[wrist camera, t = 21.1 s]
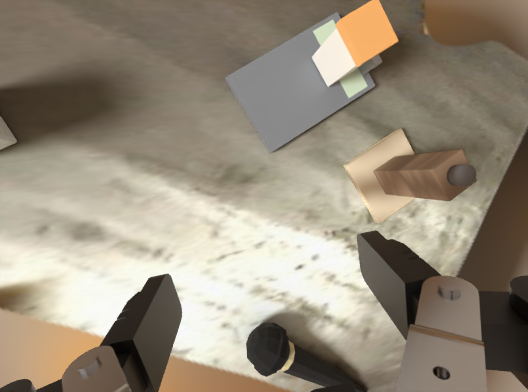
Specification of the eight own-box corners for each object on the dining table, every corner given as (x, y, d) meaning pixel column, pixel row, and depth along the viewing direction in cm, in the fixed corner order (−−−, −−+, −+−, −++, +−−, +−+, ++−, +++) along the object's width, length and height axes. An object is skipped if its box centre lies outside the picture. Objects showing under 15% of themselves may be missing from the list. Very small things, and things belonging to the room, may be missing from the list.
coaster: (343, 165, 36) (347, 165, 35) (396, 129, 37) (401, 128, 36) (375, 222, 38) (379, 223, 37) (425, 186, 39) (431, 186, 38)
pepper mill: (372, 171, 36) (443, 169, 25) (394, 156, 37) (473, 148, 26) (385, 194, 37) (460, 202, 26) (406, 179, 37) (489, 180, 26)
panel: (225, 80, 33) (227, 67, 29) (333, 16, 35) (349, -4, 31) (269, 153, 34) (277, 150, 30) (371, 88, 36) (390, 77, 32)
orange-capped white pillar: (309, 56, 33) (339, 19, 25) (338, 38, 34) (377, -3, 26) (327, 89, 34) (362, 63, 26) (355, 71, 34) (398, 40, 27)
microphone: (356, 363, 42) (251, 310, 36) (387, 381, 37) (272, 323, 31) (344, 402, 41) (231, 354, 34) (375, 427, 36) (250, 375, 29)
